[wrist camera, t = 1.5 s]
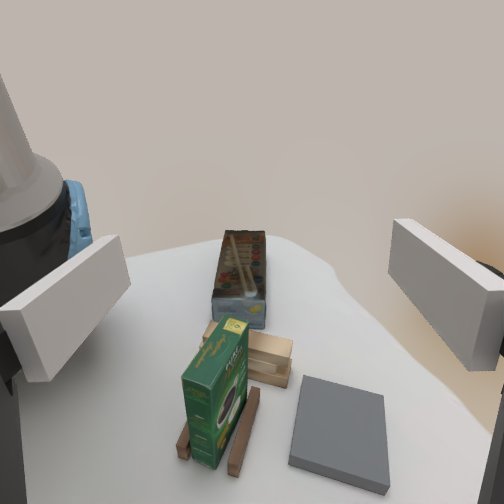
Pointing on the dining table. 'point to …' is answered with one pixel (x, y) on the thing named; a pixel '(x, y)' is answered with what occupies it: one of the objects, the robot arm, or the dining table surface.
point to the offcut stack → (265, 356)
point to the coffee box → (216, 389)
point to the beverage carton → (241, 278)
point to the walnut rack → (240, 439)
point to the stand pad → (341, 435)
